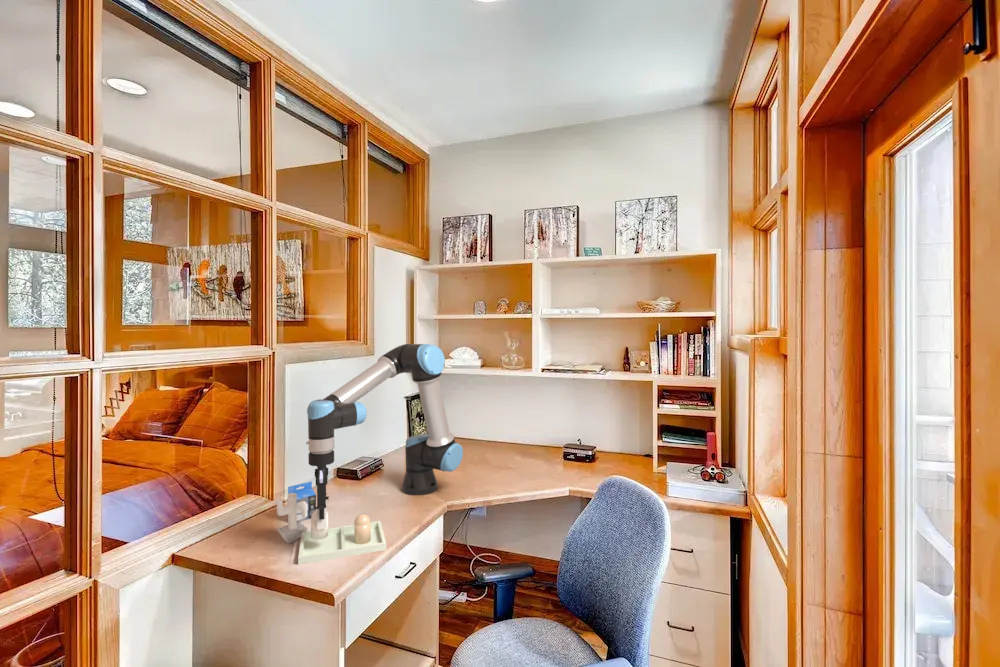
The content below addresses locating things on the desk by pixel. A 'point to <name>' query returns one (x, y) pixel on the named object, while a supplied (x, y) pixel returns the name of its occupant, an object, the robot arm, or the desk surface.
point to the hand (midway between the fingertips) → (322, 524)
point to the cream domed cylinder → (314, 532)
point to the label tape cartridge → (304, 498)
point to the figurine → (292, 518)
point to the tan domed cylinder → (362, 529)
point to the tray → (339, 544)
